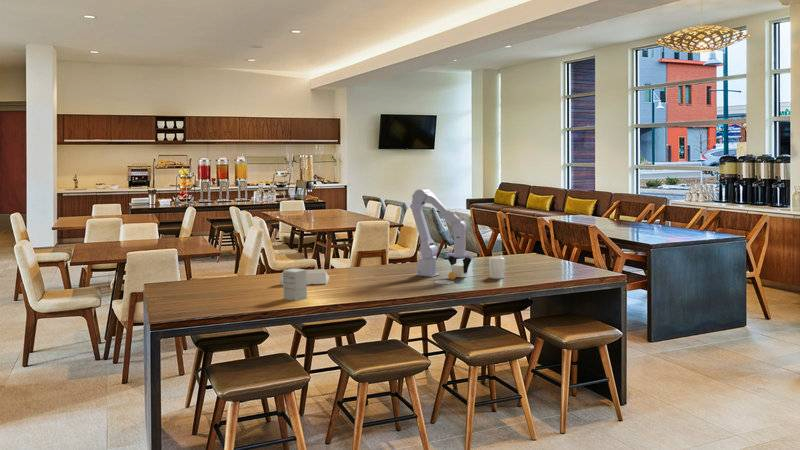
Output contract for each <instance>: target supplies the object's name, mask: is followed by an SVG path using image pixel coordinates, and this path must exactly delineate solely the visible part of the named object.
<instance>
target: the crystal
mask: <svg viewBox="0 0 800 450" xmlns="http://www.w3.org/2000/svg"><path fill="white" fill-rule="evenodd" d="M305 270H306V284H307V286H308V285H309V286H310V284H314V285H327V284H328V282H329V280H330V276H329V274H328V273H327V270H326V269H325V268H317V269H315V268H314V269H305ZM278 280H279V284H280V285H281V286H282V285H283V271H282V272H281V274H280V275H279V278H278Z"/></svg>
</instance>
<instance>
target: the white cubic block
mask: <svg viewBox="0 0 800 450" xmlns="http://www.w3.org/2000/svg"><path fill="white" fill-rule="evenodd" d="M450 266H451V267H450V268H451V271H450V272H454V273H455V274H456V278H464V277H466V276H468V272H467V273H464V264H463V263H459V262H456V264H454V265H451V264H450Z"/></svg>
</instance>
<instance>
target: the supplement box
mask: <svg viewBox="0 0 800 450" xmlns="http://www.w3.org/2000/svg"><path fill="white" fill-rule="evenodd" d="M306 270H307V269H304V268H303V269H301V268H297V267H296V268H293V267H292V268H289V269H284V270H282V272H283V286H282V287H283V288H282V289H283V300H286V301H287V300H289V301H294V302H296V301H297V302H298V301H299V300H303V299H308V291H307V290H308V289H307V286H308V285H307V284H306Z"/></svg>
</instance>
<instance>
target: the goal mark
mask: <svg viewBox="0 0 800 450" xmlns="http://www.w3.org/2000/svg"><path fill="white" fill-rule="evenodd" d="M454 283H455V281H454V280H450V279H440V280H433V284H437V285H452V284H454Z"/></svg>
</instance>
